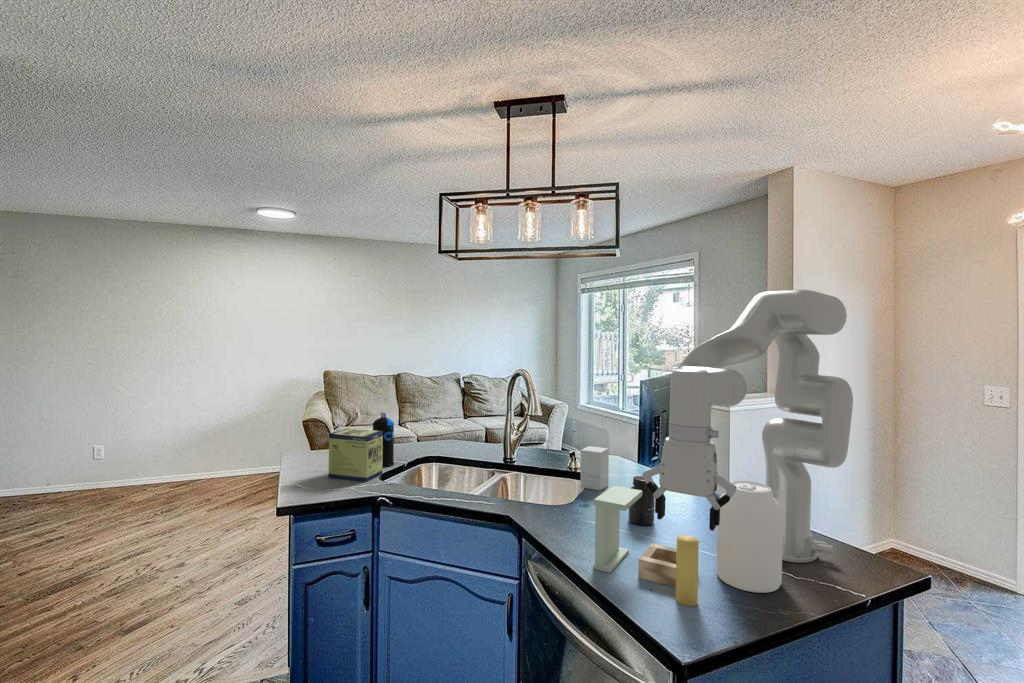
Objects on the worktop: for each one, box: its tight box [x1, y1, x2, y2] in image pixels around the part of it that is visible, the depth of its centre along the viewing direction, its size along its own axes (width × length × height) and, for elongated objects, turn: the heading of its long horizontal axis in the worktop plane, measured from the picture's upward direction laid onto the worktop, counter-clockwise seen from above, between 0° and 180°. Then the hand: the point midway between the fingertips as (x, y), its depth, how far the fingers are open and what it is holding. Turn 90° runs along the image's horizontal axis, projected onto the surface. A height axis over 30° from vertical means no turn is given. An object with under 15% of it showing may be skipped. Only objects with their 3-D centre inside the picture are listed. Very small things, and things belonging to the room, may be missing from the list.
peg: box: [675, 534, 700, 607], centre depth 100 cm, size 4×4×12 cm
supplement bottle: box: [628, 475, 655, 527], centre depth 141 cm, size 7×7×12 cm
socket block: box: [637, 542, 677, 589], centre depth 110 cm, size 10×10×4 cm
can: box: [716, 480, 783, 594], centre depth 109 cm, size 12×12×20 cm
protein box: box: [328, 428, 383, 483], centre depth 181 cm, size 10×16×16 cm
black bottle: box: [372, 411, 395, 468], centre depth 196 cm, size 8×8×20 cm
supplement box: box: [580, 445, 610, 492], centre depth 172 cm, size 7×7×13 cm
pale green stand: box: [592, 485, 642, 574], centre depth 116 cm, size 7×12×15 cm, turn 149°
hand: (686, 522), depth 99 cm, fingers open, 9 cm apart
